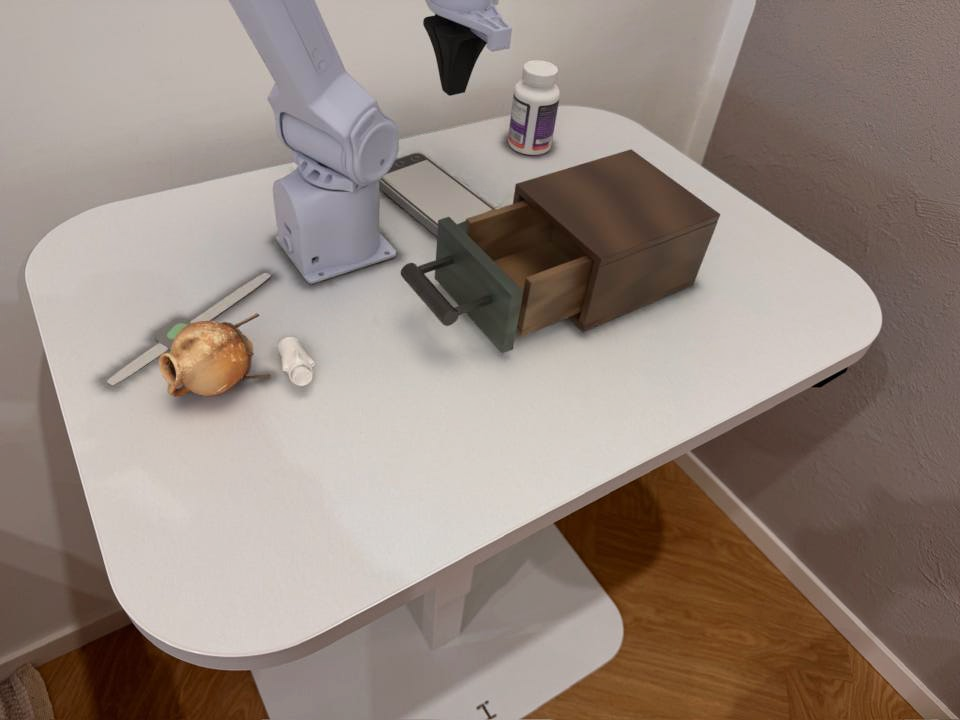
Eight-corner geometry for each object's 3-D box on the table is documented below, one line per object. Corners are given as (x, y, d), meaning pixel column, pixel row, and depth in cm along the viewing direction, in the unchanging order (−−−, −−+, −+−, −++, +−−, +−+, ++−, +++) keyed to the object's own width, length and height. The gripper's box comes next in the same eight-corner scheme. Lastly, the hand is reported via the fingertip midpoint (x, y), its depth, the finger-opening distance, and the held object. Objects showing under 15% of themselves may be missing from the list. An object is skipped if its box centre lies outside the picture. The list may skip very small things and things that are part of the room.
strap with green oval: (255, 264, 70) (279, 277, 69) (256, 267, 71) (279, 280, 70) (95, 371, 60) (120, 388, 59) (96, 374, 60) (121, 392, 59)
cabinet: (582, 332, 69) (601, 259, 63) (504, 256, 76) (515, 183, 69) (693, 284, 75) (721, 214, 69) (612, 218, 82) (631, 148, 76)
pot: (246, 377, 64) (285, 379, 60) (156, 405, 59) (192, 409, 54) (229, 311, 63) (268, 307, 59) (136, 333, 58) (171, 331, 53)
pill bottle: (551, 136, 93) (565, 60, 86) (550, 159, 89) (564, 81, 82) (508, 130, 93) (518, 54, 86) (505, 153, 89) (515, 74, 82)
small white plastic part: (324, 346, 65) (322, 319, 62) (312, 397, 60) (309, 371, 58) (282, 342, 64) (279, 316, 62) (267, 394, 60) (263, 367, 58)
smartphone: (419, 150, 86) (505, 215, 78) (419, 158, 87) (504, 223, 79) (366, 169, 82) (450, 238, 75) (366, 177, 83) (450, 247, 76)
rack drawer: (453, 374, 62) (459, 315, 58) (387, 294, 69) (388, 235, 64) (618, 305, 71) (635, 248, 66) (546, 239, 77) (557, 182, 72)
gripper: (546, -29, 65) (525, 115, 75) (458, -81, 73) (449, 55, 83) (479, -19, 62) (467, 130, 72) (394, -74, 70) (393, 66, 80)
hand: (453, 91), depth 77 cm, fingers closed
